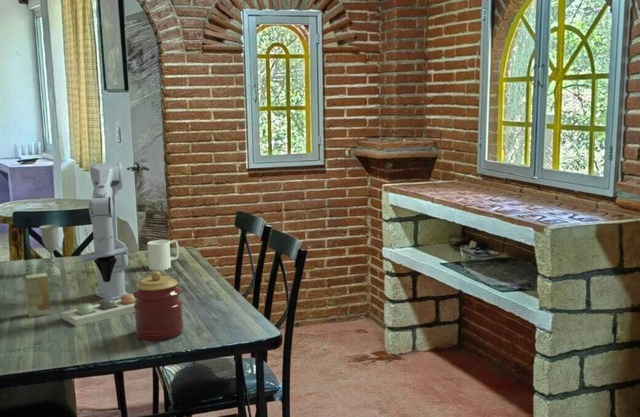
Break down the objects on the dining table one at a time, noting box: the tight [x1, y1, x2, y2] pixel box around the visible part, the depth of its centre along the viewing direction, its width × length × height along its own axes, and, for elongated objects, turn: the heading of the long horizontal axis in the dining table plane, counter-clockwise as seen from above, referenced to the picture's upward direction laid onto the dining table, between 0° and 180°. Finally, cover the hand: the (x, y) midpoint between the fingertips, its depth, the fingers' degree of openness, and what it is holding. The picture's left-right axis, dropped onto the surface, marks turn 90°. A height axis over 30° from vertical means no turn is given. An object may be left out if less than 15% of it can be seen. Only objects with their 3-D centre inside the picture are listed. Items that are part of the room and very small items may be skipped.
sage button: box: [76, 302, 93, 316], centre depth 211 cm, size 4×4×3 cm
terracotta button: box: [120, 293, 135, 305], centre depth 220 cm, size 4×4×3 cm
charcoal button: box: [98, 298, 115, 310], centre depth 216 cm, size 4×4×3 cm
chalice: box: [39, 224, 61, 276], centre depth 265 cm, size 7×7×18 cm
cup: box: [147, 239, 180, 272], centre depth 271 cm, size 8×12×10 cm
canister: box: [132, 270, 184, 341], centre depth 195 cm, size 13×13×18 cm
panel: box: [61, 298, 135, 327], centre depth 216 cm, size 10×24×2 cm, turn 132°
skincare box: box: [25, 272, 51, 318], centre depth 216 cm, size 6×4×12 cm
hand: (106, 281), depth 215 cm, fingers closed
